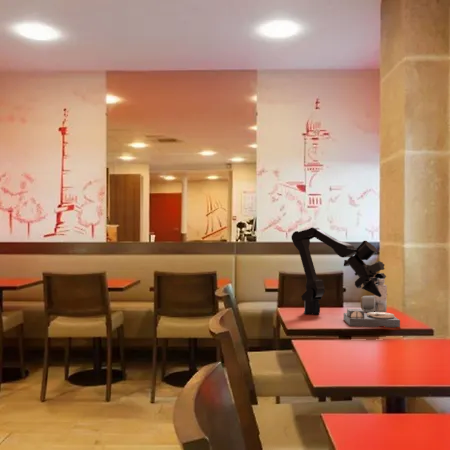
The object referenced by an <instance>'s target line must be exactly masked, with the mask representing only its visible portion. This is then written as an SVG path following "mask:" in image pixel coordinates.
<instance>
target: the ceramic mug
mask: <svg viewBox="0 0 450 450" xmlns="http://www.w3.org/2000/svg"><path fill="white" fill-rule="evenodd" d="M360 309H362V310H363V311H364V313H366V312H367V313H369V312H374V295H363V296H361V297H360Z"/></svg>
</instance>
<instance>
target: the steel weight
mask: <svg viewBox="0 0 450 450" xmlns="http://www.w3.org/2000/svg"><path fill="white" fill-rule="evenodd" d="M377 283H378V284H375V286H376V287H377V289H378V290H379V292H380V293H381V295H382V296H381V297H378V296H376V295H374V294H373V296H374V311H375V312H384V313H387V307H388V306H387V303H388V302H387V301H388V300H387V299H388V285H387V284H385V283H386V278H385V279H377Z"/></svg>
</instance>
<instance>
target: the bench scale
mask: <svg viewBox="0 0 450 450" xmlns="http://www.w3.org/2000/svg"><path fill="white" fill-rule="evenodd" d="M344 320H345V321H346V322H345V321H344ZM343 321H344V322H345V323H346V324H347V325H348V326H349V327H362V326H363V327H365V328H366V327H369V328H371V327H372V328H373V327H374V328H379V327H378V326H385V327H384V328H396V327H400V328H401V320H400V319H399V318H397V317H396V316H395V314H394V313H390V312H369V313H366V312H364V311H363V310H362V309H361V308H347V309H346V312H343ZM376 326H377V327H376Z"/></svg>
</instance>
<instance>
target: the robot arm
mask: <svg viewBox="0 0 450 450" xmlns="http://www.w3.org/2000/svg"><path fill="white" fill-rule="evenodd" d="M312 239H317V240H318V241H320V242H321V243H323V244H325V245H326V246H328V247H329V248H331V249H332V250H333V252H334V253H335V254H336V255H337V256H338V257H340V258H348V259H344V261H343V262H344V263H343V267H350V268H351V269H352V270H353V272H354V276H358V278H357V279H356V280H355V281H354V286H355V287H356V288H357V289H362V290H365V291H367V292H369V293H370V294H373V296H374V295H376V296H378V297H381V296H382V295H381V293H380V292H379V290H378V289H377V287H376V286H375V284H378V283H377V279H385V280H386V278H387V276H386V274H385V273H384V272H380V271H384V270H385V264H384V263H383V262H382V261H376V262H375V263H372V264H371V265H370V264H366V262H365V261H368V260H369V259H371V257H372V256H374V255H375V253H377V248H376V247H375V246H374V245H373V244H372V243H371V242H368V240H363V241H362V242H361V244H360V245H358V247H355V246H354V245H352V244H351V243H348V242H345V241H341V240H339V239H337V238H335V237H334V236H332V235H330V234H328V233H327V232H325V231H323V230H322V229H320V228H319V227H313V226H312V227H310V228H308V229H305V230H300V231H299V230H296V231H295V230H294V232H293V233H292V234H291V241H292V243H293V245H294V248H296V249H297V251H298V253H299V257H300V261H301V264H302V267H303V271H304V274H305V279H306V283H305V291H304V293H303V294H302V295H301V300H302V301H304V311H303V313H304V314H305V315H316V316H317V315H320V313H321V304H320V302H319V301H321V300H322V297H323V295H324V293H325V289H326V287H325V285H324V280H323V279H319V278H318V276H317V273H316V268H315V266H314V265H315V264H314V262H313V258H312V255H311V251H310V244H311V241H310V240H312ZM378 272H379V273H378ZM362 285H363V286H362Z"/></svg>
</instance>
